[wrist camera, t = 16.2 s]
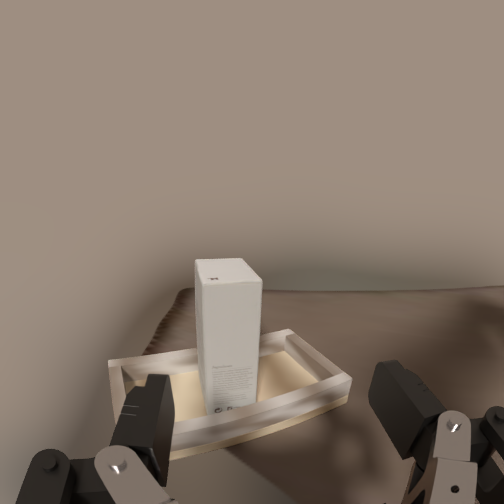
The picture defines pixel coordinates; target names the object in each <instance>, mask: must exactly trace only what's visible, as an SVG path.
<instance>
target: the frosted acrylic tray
mask: <svg viewBox="0 0 504 504" xmlns="http://www.w3.org/2000/svg"><path fill="white" fill-rule="evenodd" d="M108 366H109V377H110V386H111V394H112V402H113V409H114V416H115V422H116V424H117V421H118V418H119V415H121V410H122V407H123V404H124V401H125V398H126V395H127V394H128V393H129V392H130V391H131V390H132V389H133V388H134V387H135V386H145V383H146V380H147V377H148V374H168V375H169V376H170V381H171V387H172V393H173V399H174V406H175V420H174V428H173V435H172V443H171V450H170V458H169V461H170V460H175V459H180V458H184V457H189V456H193V455H197V454H202V453H206V452H210V451H214V450H218V449H222V448H225V447H229V446H232V445H236V444H239V443H243V442H246V441H249V440H252V439H255V438H259V437H262V436H265V435H268V434H270V433H273V432H276V431H279V430H282V429H285V428H287V427H290V426H293V425H295V424H298V423H300V422H303V421H305V420H308V419H310V418H313V417H315V416H318V415H320V414H322V413H325V412H327V411H329V410H332V409H334V408H336V407H338V406H340V405H343V404H345V403H346V402H347V399H348V394H349V390H350V386H351V382H352V378H351V377H350V376H349V375H347V374H346V373H345V372H343V371H342V370H341V369H340V368H338V367H337V366H336V365H334V364H333V363H332V362H331V361H329V360H328V359H327V358H325V357H324V356H323V355H322V354H320V353H319V352H318V351H317V350H315V349H314V348H313V347H311V346H310V345H309V344H308V343H306V342H305V341H304V340H303V339H301V338H300V337H299V336H298V335H296V334H295V333H294V332H293V331H291V330H290V329H286V330H282V331H277V332H273V333H268V334H264V335H260V343H259V363H258V377H257V396H256V403H253V404H250V405H246V406H243V407H239V408H235V409H231V410H227V411H224V412H220V413H215V414H211V415H207V412H206V408H205V403H204V399H203V394H202V389H201V385H200V380H199V371H198V352H197V348H192V349H186V350H180V351H173V352H167V353H160V354H153V355H146V356H139V357H131V358H123V359H115V360H108Z"/></svg>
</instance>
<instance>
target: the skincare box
mask: <svg viewBox="0 0 504 504" xmlns="http://www.w3.org/2000/svg"><path fill="white" fill-rule="evenodd" d="M262 283H263V282H262V279H261V278H260V277H259V276H258V275H257V274H256V273H255V272H254V271H253V270H252V269H251V268H250V267H249V266H248V264H247V263H246V262H245V261H244V260H243V259H242V258H230V259H197V260H196V261H195V304H196V330H197V352H198V371H199V380H200V385H201V389H202V394H203V399H204V403H205V408H206V412H207V415H211V414H215V413H220V412H224V411H227V410H231V409H235V408H239V407H243V406H246V405H250V404H253V403H256V396H257V377H258V363H259V343H260V324H261V304H262Z"/></svg>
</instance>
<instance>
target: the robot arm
mask: <svg viewBox="0 0 504 504" xmlns="http://www.w3.org/2000/svg"><path fill="white" fill-rule="evenodd" d="M368 398H369V403H370V405H371V407H372V409H373V410H374V412H375V414H376V415H377V417H378V419H379V420H380V422H381V424H382V426H383V427H384V429H385V431H386V432H387V434H388V436H389V437H390V439H391V441H392V443H393V444H394V446H395V448H396V449H397V451H398V453H399V455H400V456H401V458H402V460H404V459H407V458H410V457H414V458H415V461H414V463H413V465H412V469H411V473H410V476H409V480H408V484H407V487H406V490H405V494H404V497H403V500H402V502H401V504H474V503H475V496H476V498H477V499H478V501H479V503H480V504H504V475H503V473H502V472H501V470H500V469H499V467H498V466H497V465H496V463H495V462H494V460H493V459H492V457H491V456H492V454H493V453H494V452H495V450H497V452H498V453H499V454H500V456H501V457H502V459H503V460H504V408H503V407H499V406H495V407H491V408H489V409H488V410H487V412H486V414H485V416H484V417H483V418H477V419H469V418H468V417H467V416H466V415H464V414H463V413H461V412H458V411H447V410H446V409H445V407H444V406H443V405H442V404H441V403H440V401H439V400H438V399H437V398H436V397H435V396H434V394H433V393H432V392H431V391H430V390H429V389H428V387H427V386H426V385H425V384H423V382H422V380H421V379H420V378H419V377H418V376H417V375H416V374H414V373H413V372H411V371H409V370H408V369H404V368H403V367H402V365H401V364H400V363H399V362H398V361H397V360H390V361H384V362H379V363H378V364H377V365H376V368H375V371H374V375H373V379H372V382H371V386H370V389H369V394H368ZM174 420H175V406H174V399H173V393H172V387H171V381H170V376H169V375H168V374H148V377H147V380H146V383H145V386H135V387H134V388H133V389H132V390H131V391H130V392H129V393H128V394H127V395H126V398H125V401H124V404H123V407H122V410H121V415H119V418H118V421H117V424H116V427H115V430H114V433H113V437H112V440H111V443H110V445H109V447H106V448H104V449H102V450H101V451H100V452H99V453H98V454H97V455H96V457H94V458H89V459H73V460H69V459H68V458H67V456H66V455H65V454H64V453H63V452H60V451H59V450H55V449H46V450H42V451H40V452H38V453H37V454H36V455H35V456H34V457H33V459H32V461H31V463H30V466H29V468H28V471H27V473H26V476H25V479H24V481H23V484H22V487H21V489H20V492H19V495H18V498H17V501H16V504H179V503H178V502H177V501H176V500H175V499H171V498H170V497H169V496H168V495H167V494H166V493H165V491H164V490H163V489H162V488H161V486H162V487H166V483H167V475H168V467H169V458H170V450H171V443H172V435H173V428H174ZM384 504H386V503H384Z"/></svg>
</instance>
